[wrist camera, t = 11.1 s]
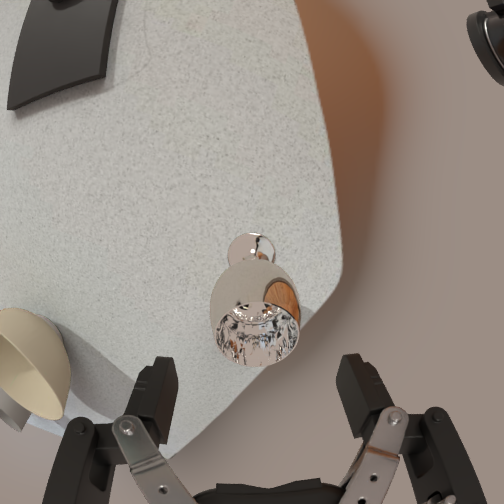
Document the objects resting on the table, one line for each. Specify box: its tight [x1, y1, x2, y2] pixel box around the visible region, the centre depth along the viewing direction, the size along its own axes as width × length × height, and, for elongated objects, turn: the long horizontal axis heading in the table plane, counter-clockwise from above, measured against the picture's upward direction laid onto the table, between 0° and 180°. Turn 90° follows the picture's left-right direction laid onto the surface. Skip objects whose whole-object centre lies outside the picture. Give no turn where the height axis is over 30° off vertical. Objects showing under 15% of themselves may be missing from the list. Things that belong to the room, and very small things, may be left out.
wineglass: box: [210, 233, 301, 367], centre depth 20 cm, size 6×6×12 cm
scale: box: [7, 0, 118, 110], centre depth 14 cm, size 19×14×3 cm
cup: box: [0, 387, 32, 432], centre depth 30 cm, size 8×8×10 cm
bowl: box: [0, 308, 71, 420], centre depth 24 cm, size 16×16×10 cm
